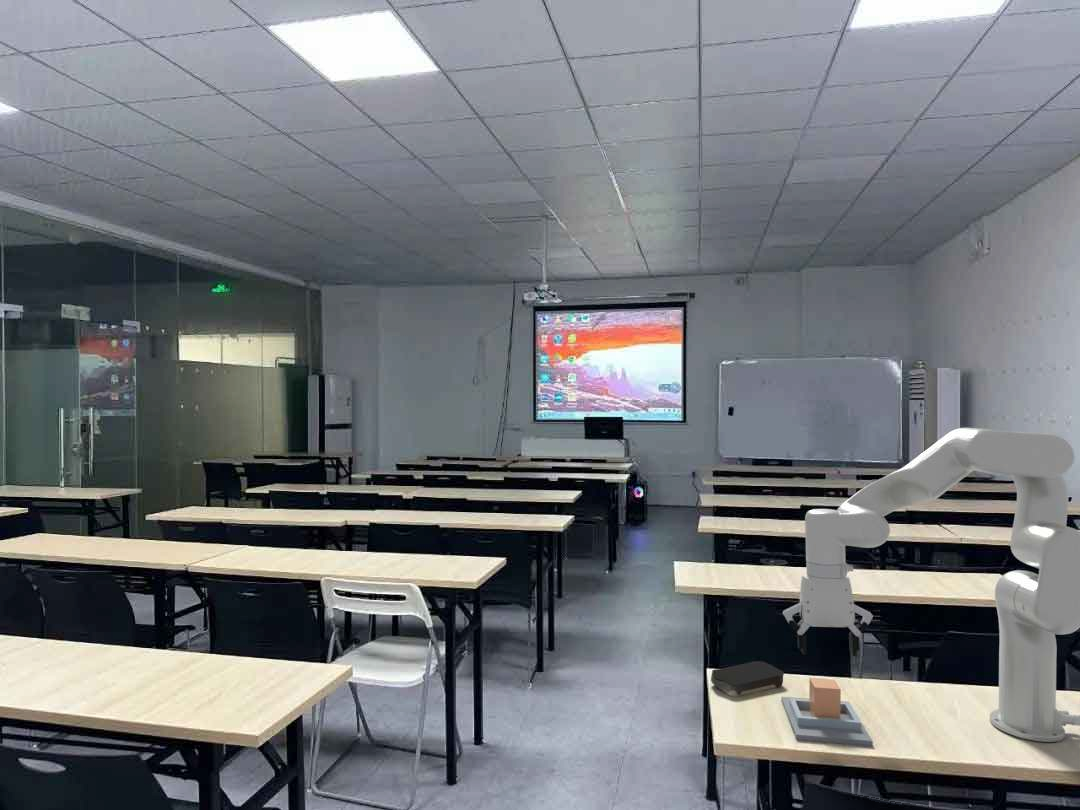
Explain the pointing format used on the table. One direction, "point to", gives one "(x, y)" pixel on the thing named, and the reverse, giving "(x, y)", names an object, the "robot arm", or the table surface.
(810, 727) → the holder dock
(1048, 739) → the robot arm
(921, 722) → the table surface
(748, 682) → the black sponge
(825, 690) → the orange rectangular block
